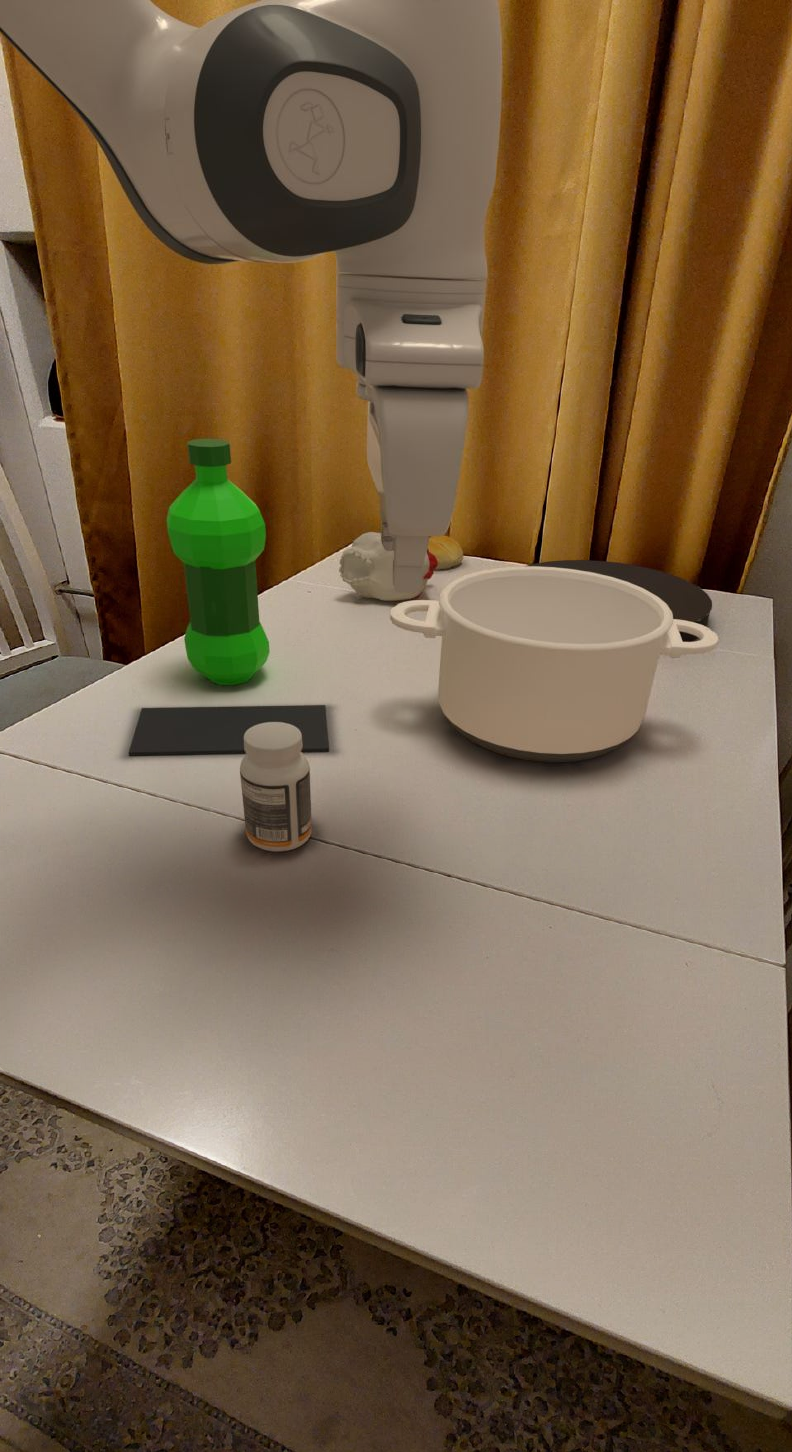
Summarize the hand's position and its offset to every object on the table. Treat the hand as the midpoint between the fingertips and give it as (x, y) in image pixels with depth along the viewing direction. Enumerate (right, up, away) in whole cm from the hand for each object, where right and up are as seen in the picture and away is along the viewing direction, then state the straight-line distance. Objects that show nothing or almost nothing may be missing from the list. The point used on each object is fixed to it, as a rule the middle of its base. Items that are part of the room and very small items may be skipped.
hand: (399, 567), depth 59 cm
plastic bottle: (-20, +2, +41) cm, 45 cm away
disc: (+29, +17, +63) cm, 71 cm away
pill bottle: (-10, -18, +14) cm, 26 cm away
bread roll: (+6, +30, +78) cm, 84 cm away
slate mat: (-18, -6, +30) cm, 35 cm away
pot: (+15, -5, +33) cm, 37 cm away
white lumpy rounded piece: (0, +20, +65) cm, 68 cm away
